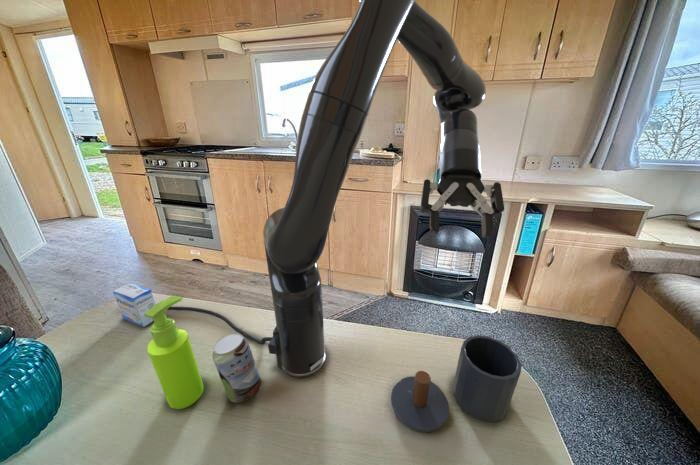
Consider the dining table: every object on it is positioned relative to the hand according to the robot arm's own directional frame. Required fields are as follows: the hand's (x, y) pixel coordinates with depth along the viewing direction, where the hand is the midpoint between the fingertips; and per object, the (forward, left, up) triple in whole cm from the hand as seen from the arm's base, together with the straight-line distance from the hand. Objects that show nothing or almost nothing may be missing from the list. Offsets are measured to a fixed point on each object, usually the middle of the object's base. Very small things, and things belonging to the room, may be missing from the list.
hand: (460, 234), depth 49 cm
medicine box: (-74, -2, -29) cm, 79 cm away
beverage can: (-38, -16, -29) cm, 50 cm away
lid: (-5, -13, -28) cm, 31 cm away
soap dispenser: (-48, -18, -29) cm, 59 cm away
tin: (+6, -9, -29) cm, 31 cm away
